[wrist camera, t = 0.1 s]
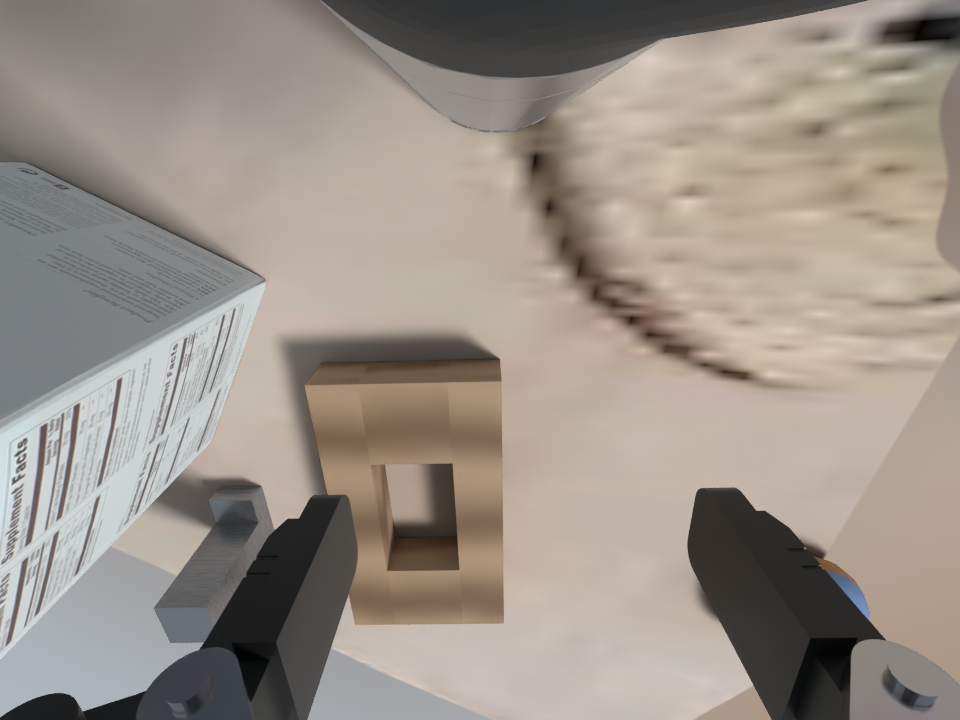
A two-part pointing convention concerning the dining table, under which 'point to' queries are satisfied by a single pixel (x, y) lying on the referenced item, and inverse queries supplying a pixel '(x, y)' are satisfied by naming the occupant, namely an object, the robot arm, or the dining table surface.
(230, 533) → the grey metal t-block
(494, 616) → the frame
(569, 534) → the dining table surface
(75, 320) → the supplement box
